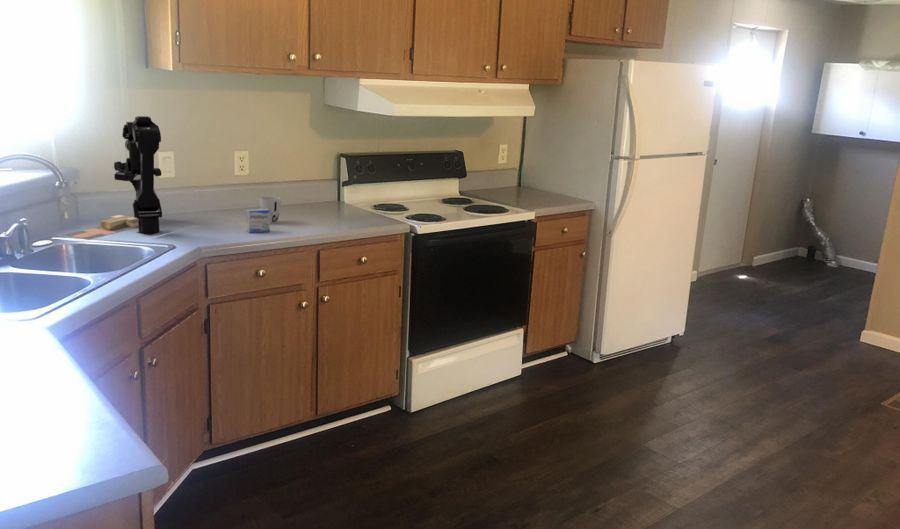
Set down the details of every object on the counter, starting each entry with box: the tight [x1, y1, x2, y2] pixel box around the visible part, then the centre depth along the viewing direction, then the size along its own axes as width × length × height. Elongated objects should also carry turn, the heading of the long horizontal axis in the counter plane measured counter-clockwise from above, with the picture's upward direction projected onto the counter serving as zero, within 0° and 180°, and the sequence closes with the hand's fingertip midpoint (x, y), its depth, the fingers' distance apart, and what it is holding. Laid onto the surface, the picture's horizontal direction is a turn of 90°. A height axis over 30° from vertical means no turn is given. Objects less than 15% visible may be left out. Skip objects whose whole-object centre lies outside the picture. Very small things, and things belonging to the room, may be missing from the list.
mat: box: [62, 225, 139, 241], centre depth 261 cm, size 12×26×1 cm, turn 161°
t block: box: [100, 214, 139, 231], centre depth 266 cm, size 10×12×3 cm
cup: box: [259, 196, 281, 225], centre depth 290 cm, size 8×8×10 cm
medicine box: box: [245, 208, 271, 234], centre depth 274 cm, size 8×4×9 cm, turn 117°
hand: (139, 196), depth 275 cm, fingers closed
